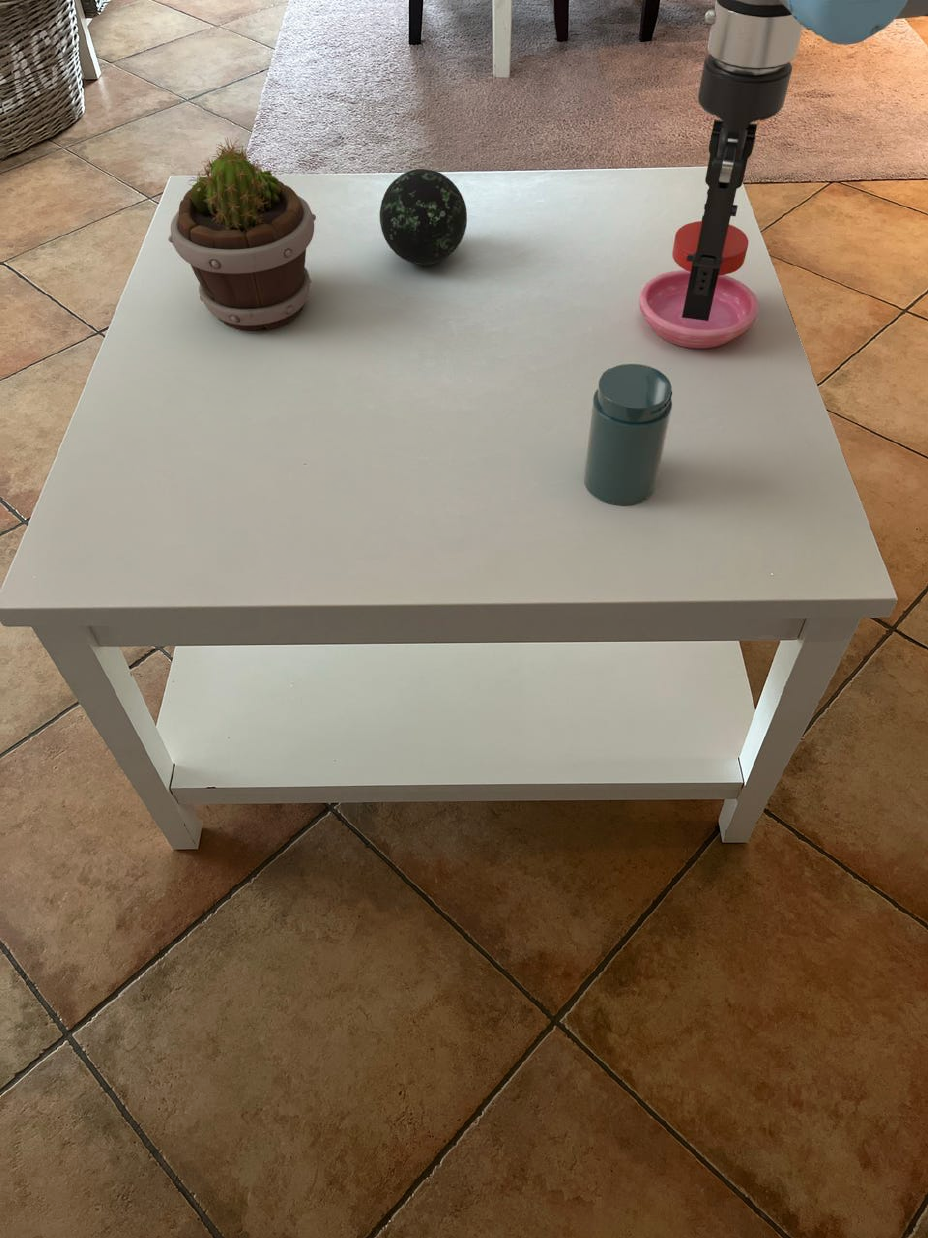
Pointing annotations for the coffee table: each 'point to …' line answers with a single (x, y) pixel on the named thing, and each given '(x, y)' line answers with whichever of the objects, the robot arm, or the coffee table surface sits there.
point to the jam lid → (732, 249)
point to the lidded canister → (627, 433)
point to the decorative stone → (423, 216)
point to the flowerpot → (245, 242)
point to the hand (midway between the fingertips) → (699, 295)
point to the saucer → (726, 319)
